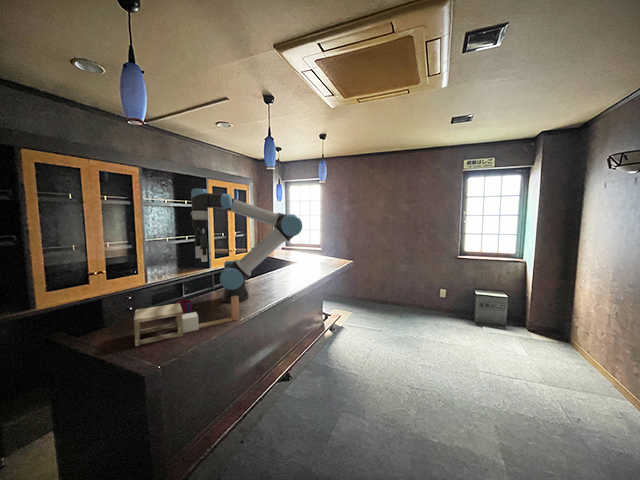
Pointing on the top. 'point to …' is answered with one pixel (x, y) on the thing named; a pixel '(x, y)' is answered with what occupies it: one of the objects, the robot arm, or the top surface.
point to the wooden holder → (155, 314)
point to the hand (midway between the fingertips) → (201, 259)
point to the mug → (186, 306)
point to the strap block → (192, 322)
